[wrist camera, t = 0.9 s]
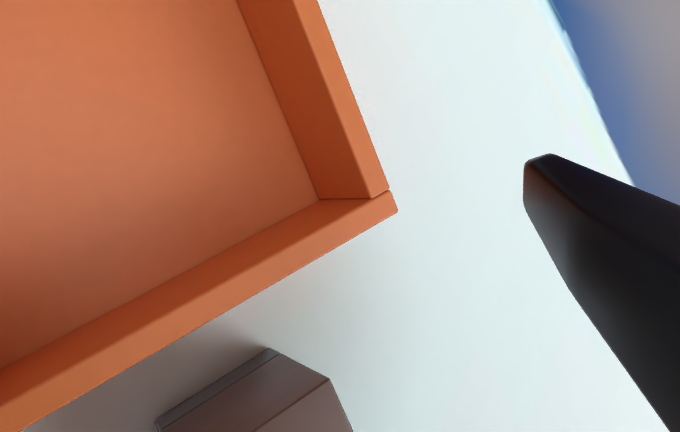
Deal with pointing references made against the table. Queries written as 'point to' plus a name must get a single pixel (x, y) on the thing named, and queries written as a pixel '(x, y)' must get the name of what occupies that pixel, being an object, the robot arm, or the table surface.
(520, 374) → the table surface
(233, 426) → the eraser
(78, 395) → the tray
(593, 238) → the robot arm
